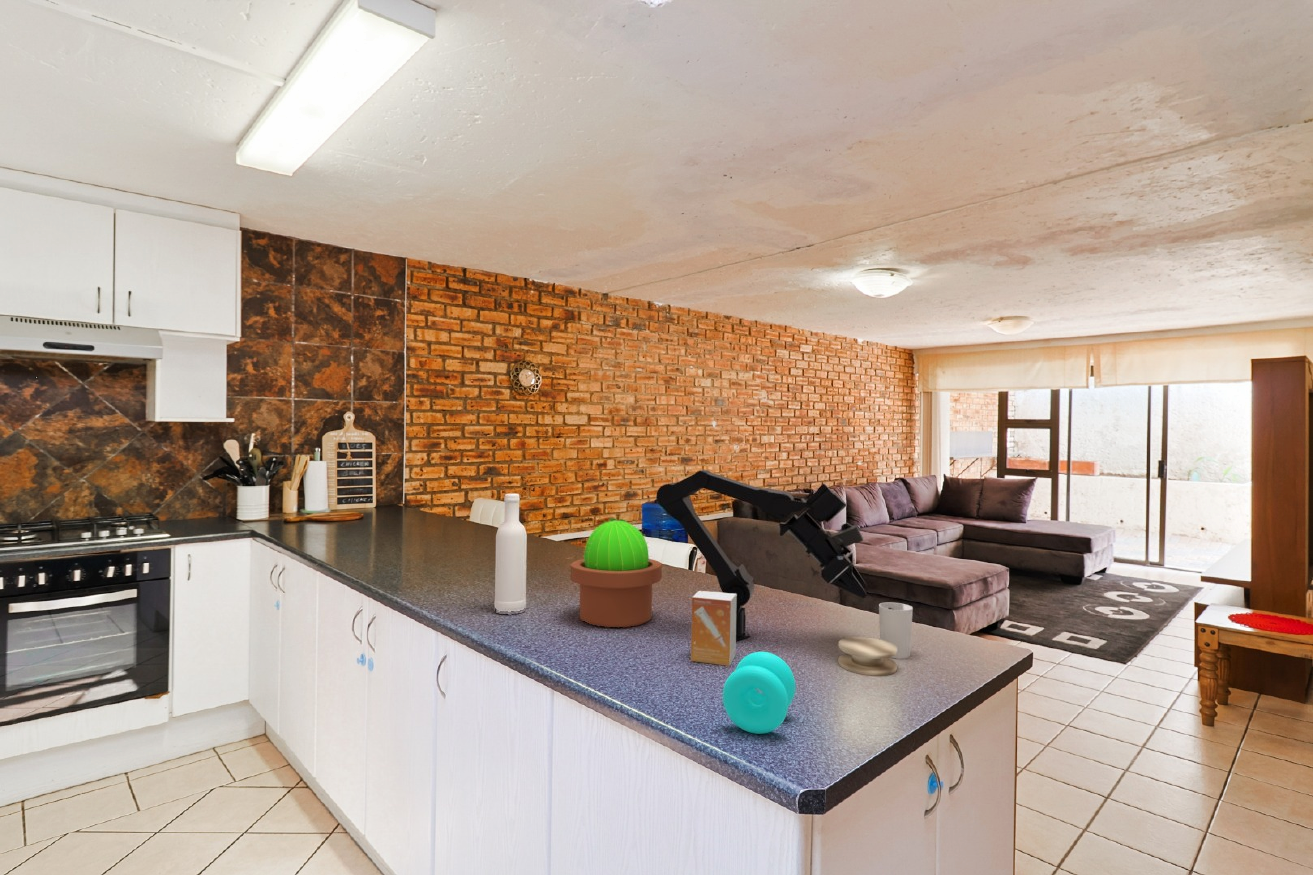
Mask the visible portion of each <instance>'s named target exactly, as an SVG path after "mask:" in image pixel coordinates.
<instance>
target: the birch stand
mask: <svg viewBox="0 0 1313 875" xmlns="http://www.w3.org/2000/svg"><path fill="white" fill-rule="evenodd" d="M838 649H839V650H840V651H841V652H844V653H843V654H841V655H839V656H838V665H839V666H840V667H841V668H842V669H844V670H847V671H849V672H851V673H855V674H857V675H858V674H859V675H865V676H876V677H877V676H879V677H880V676H881V677H882V676H888V675H889V676H890V675H893V674H894V673H897V671H898V663H897V662H896V661H894V660H893V659H892V658H891V657H894V656H896V655H897V647H896V646H895V645H893V644H892V643H889V642H887V641H884V640H880V638H879V639H878V638H874V637H868V636H867V637H866V636H852V637H851V636H849V637H845V638H842V639H840V640H839V641H838Z"/></svg>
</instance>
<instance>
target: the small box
mask: <svg viewBox="0 0 1313 875" xmlns="http://www.w3.org/2000/svg"><path fill="white" fill-rule="evenodd" d="M691 599H692V600H691V629H690V633H691V634H690V661H691V662H697V663H705V664H712V665H720V666H726V667H730V666H731V664H732V662H733V661H734V659H735V657H736V650H737V648H736V646H737V641H736V601H737V594H733V593H723V592H722V591H707V590H698V591H697V592H696V593H695V594H694V595H693V596H692V597H691Z"/></svg>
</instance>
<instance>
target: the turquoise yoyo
mask: <svg viewBox="0 0 1313 875" xmlns="http://www.w3.org/2000/svg"><path fill="white" fill-rule="evenodd" d="M796 688H797V686H796V679H795V676H794V674H793V671H792V669H791V667H790V666H789V665H788V663H787V662H786V661H785V660H783V659H782V658H781V657H779V655H776V654H775V653H771V652H767V651H757V652H756V651H755V652H752V653H749V654H747V655H746V656H744V657H743V658H742V659H741V660H740V661H739V663H738V664H737V666H736V668H735V670H734V671H733V672H732V673H731V674H729V675H728V677H727V679H726V680H725V682H724V685H723V689H722V703H723V706H724V707H723V708H724V709H725V712H726V714H727V716H728V717H729V719H730V720H731V721H732V722H733V723H734V725H735V726H737V727H738V728H740V729H741V730H743V731H745V732H748V733H752V734H756V735H757V734H758V735H761V734H762V735H763V734H768V733H771V732H772V731H774V730H776V729H777V728H778V727H780V726H781V725H782V723H783V722H784V721H785V719H786V717H787V714H788V711H789V707H790V705H791V704H792V702H793V701H794V698H795V695H796Z"/></svg>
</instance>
